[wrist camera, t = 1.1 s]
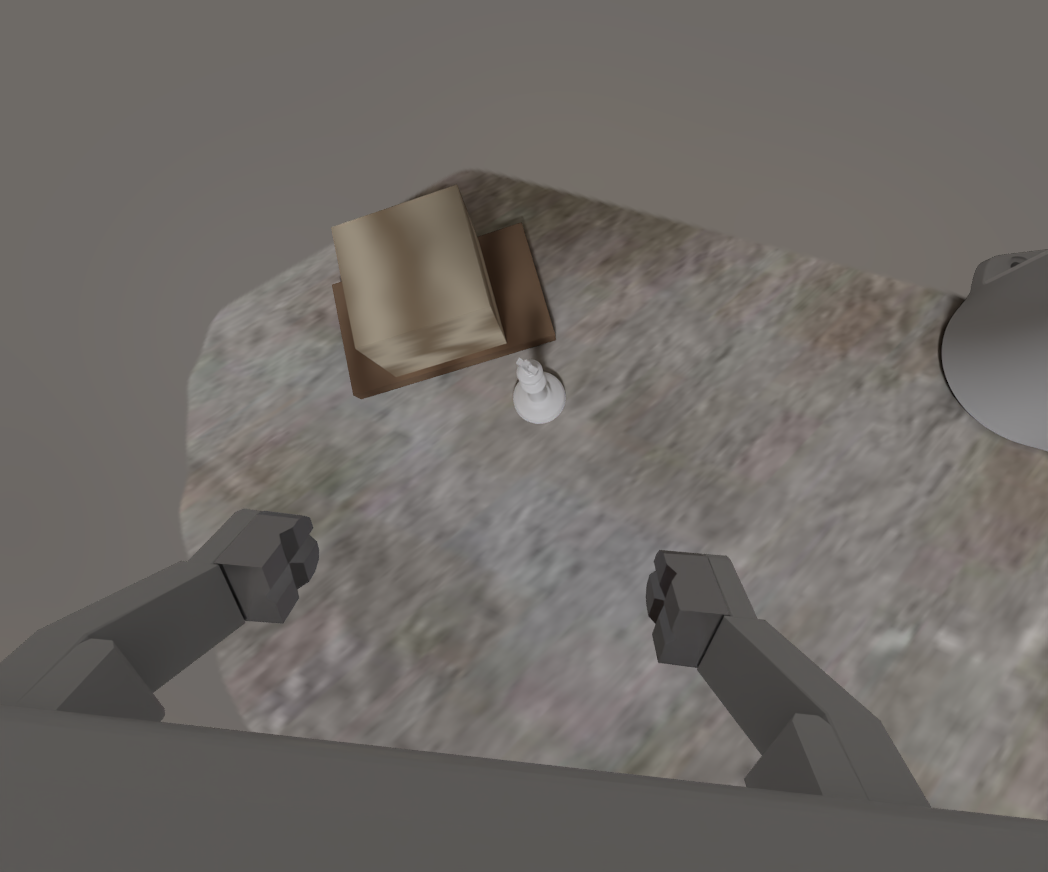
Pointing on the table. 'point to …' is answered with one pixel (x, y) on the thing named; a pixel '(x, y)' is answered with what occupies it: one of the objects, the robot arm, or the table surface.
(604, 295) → the table surface
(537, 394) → the chess piece
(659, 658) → the robot arm
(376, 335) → the walnut base
